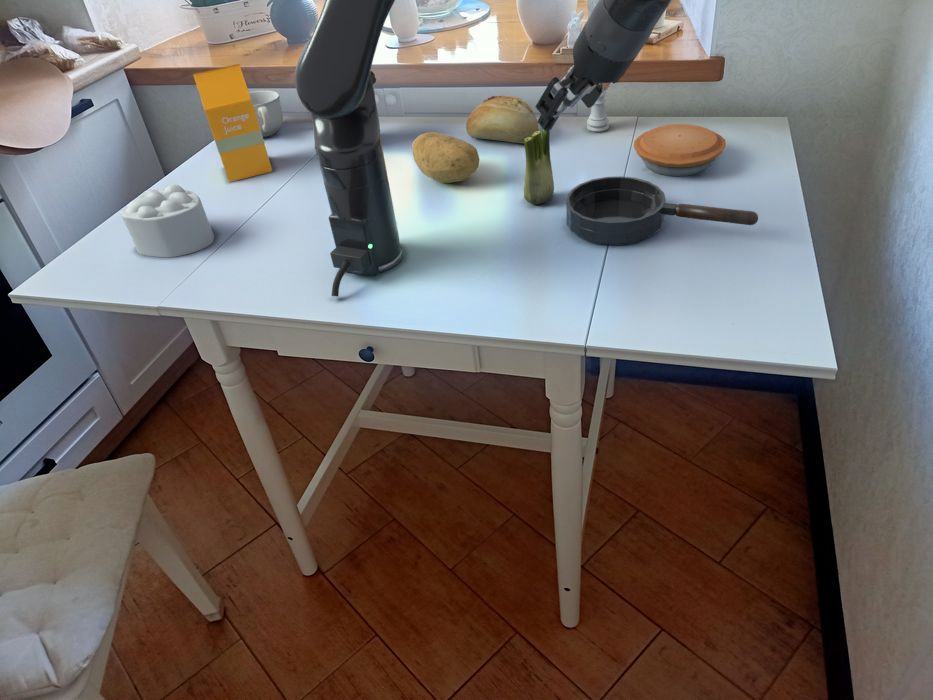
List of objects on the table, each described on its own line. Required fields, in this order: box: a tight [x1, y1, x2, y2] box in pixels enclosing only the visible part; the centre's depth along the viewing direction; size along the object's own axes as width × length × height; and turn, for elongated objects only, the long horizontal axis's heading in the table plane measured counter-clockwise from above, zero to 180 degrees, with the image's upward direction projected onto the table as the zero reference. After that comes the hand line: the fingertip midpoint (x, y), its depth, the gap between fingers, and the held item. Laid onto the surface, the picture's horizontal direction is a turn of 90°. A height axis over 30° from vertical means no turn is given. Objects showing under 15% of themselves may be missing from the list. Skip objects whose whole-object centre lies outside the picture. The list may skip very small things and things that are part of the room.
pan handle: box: [662, 202, 759, 226], centre depth 105 cm, size 2×14×2 cm, turn 65°
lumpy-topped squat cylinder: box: [120, 184, 215, 258], centre depth 121 cm, size 10×13×9 cm
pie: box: [633, 123, 727, 177], centre depth 125 cm, size 16×16×5 cm
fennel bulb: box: [523, 129, 555, 205], centre depth 117 cm, size 6×5×12 cm
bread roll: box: [465, 95, 540, 144], centre depth 140 cm, size 10×15×8 cm, turn 69°
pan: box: [565, 175, 667, 246], centre depth 112 cm, size 15×15×4 cm
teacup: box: [248, 89, 284, 138], centre depth 155 cm, size 14×11×8 cm
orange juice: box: [192, 63, 273, 183], centre depth 138 cm, size 8×9×20 cm
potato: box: [411, 131, 481, 184], centre depth 128 cm, size 10×14×8 cm
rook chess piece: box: [586, 90, 610, 134], centre depth 139 cm, size 4×4×8 cm
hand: (564, 114), depth 102 cm, fingers open, 8 cm apart
